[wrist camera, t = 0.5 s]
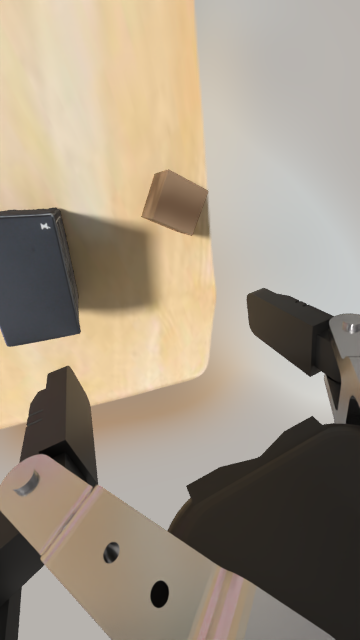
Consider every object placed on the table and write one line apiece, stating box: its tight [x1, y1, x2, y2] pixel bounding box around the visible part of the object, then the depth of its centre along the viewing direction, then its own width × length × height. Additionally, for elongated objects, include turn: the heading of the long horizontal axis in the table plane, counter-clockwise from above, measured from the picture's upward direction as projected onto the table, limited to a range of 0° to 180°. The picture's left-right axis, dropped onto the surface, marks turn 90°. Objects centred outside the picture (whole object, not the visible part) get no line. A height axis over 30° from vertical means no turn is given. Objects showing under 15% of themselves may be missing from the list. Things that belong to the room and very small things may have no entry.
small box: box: [0, 208, 81, 347], centre depth 25 cm, size 11×6×10 cm, turn 2°
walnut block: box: [141, 169, 208, 236], centre depth 30 cm, size 5×5×5 cm
